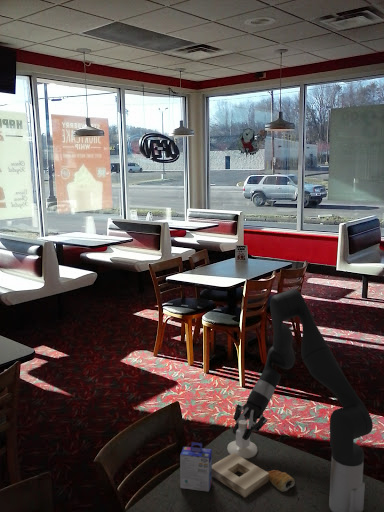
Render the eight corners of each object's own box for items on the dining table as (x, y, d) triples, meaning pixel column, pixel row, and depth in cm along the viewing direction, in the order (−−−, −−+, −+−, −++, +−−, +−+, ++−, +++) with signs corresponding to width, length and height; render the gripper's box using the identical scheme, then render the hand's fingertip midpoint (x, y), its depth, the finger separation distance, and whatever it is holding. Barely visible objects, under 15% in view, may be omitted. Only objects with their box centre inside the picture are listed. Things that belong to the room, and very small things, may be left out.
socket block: (268, 481, 165) (268, 473, 164) (244, 497, 157) (244, 489, 156) (233, 460, 177) (233, 452, 176) (209, 474, 169) (209, 466, 168)
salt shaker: (242, 450, 180) (242, 426, 178) (235, 445, 183) (235, 421, 181) (250, 446, 182) (250, 422, 180) (243, 441, 185) (243, 418, 183)
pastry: (262, 479, 166) (262, 469, 166) (276, 471, 170) (276, 461, 170) (282, 494, 159) (283, 483, 158) (297, 486, 163) (297, 475, 162)
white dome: (263, 450, 182) (263, 448, 182) (243, 462, 175) (243, 460, 175) (241, 438, 190) (241, 436, 190) (221, 449, 183) (221, 447, 183)
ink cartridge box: (212, 481, 165) (212, 442, 162) (209, 492, 160) (209, 452, 157) (183, 478, 167) (183, 439, 164) (179, 488, 162) (179, 448, 159)
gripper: (242, 384, 189) (220, 425, 183) (271, 397, 178) (249, 440, 173) (251, 392, 193) (229, 432, 188) (280, 405, 183) (258, 448, 177)
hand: (239, 436), depth 180 cm, fingers closed on salt shaker, 4 cm apart
